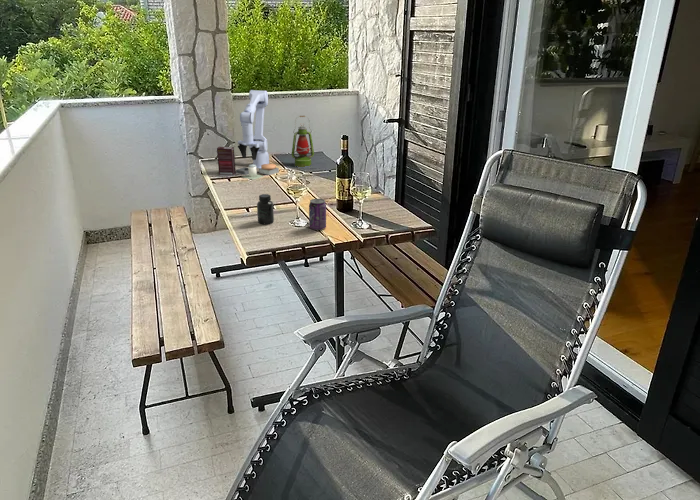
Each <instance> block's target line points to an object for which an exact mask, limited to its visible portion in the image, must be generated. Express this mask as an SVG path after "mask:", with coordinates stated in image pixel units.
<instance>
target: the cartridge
mask: <svg viewBox="0 0 700 500" xmlns="http://www.w3.org/2000/svg"><path fill="white" fill-rule="evenodd" d="M247 168H248V171H249V174H248V175H249V177H252V178H253V177H257V175H258V172H257V168H256V165H255V164H253V163H252V164H251V163H250V164H248V166H247Z"/></svg>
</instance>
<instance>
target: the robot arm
mask: <svg viewBox="0 0 700 500" xmlns="http://www.w3.org/2000/svg"><path fill="white" fill-rule="evenodd" d="M248 97H249V98H248V99H249V103H247V104H246V105H245V108H244V110H243V111H241V113H239V121H240V125H241V126H240V127H241V130H242V132H241V133H242V140H241V139H240V140H238V141H237V148H238V149H239V151H240V154H241V156H242V159H245V158H247V147H249V150H250V153H251V160H252V164H255V165H256V169H259V168H261V165H263V164H270V155H269V152H268V147H269V146H268V145H269V144H268V139H267V138H266V137H265V136H264V118H265V109H266V107H267V106H268V104H269V94H268V91H267V90H257V89H255V90H254V89H250V90H249V93H248ZM254 119H255V122H254ZM253 123H255V126H254V127H253V125H254V124H253ZM253 128H254V129H253Z"/></svg>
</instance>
